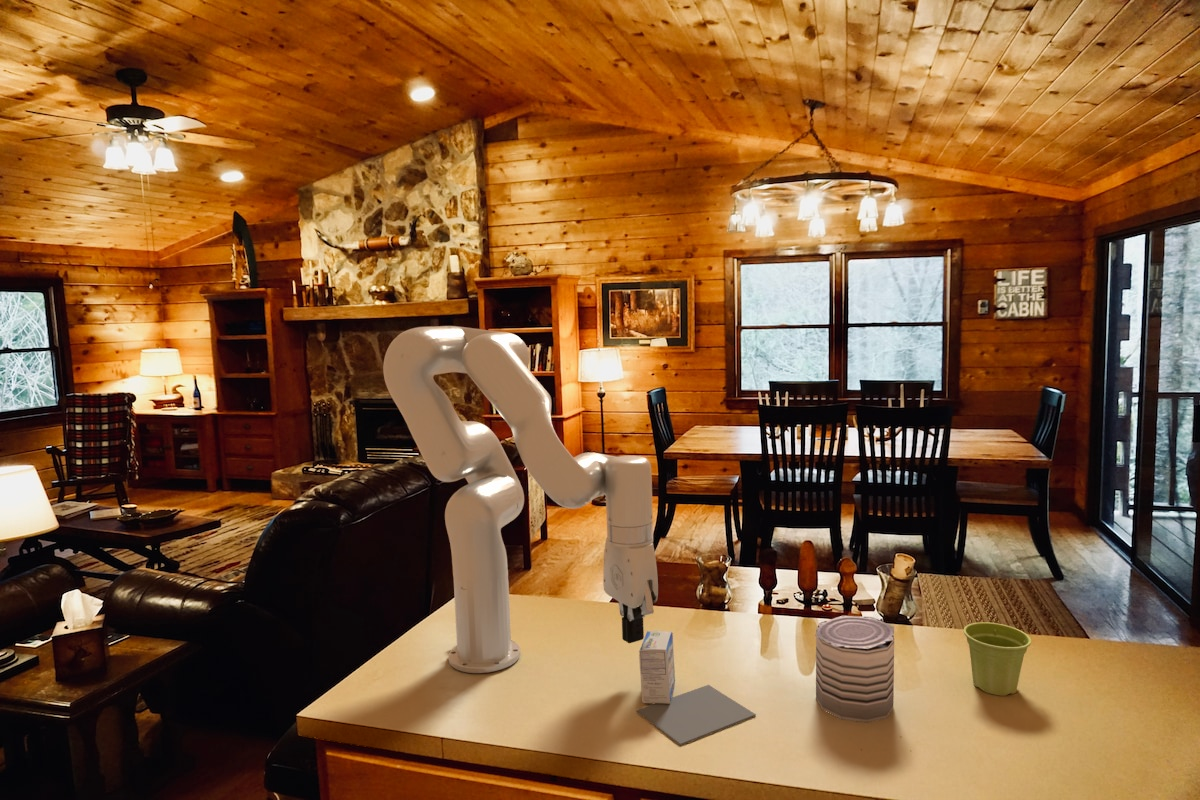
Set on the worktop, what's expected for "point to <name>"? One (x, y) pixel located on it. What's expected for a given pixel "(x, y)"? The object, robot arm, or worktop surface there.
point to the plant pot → (996, 656)
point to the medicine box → (657, 667)
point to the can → (855, 668)
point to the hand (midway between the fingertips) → (633, 639)
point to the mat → (695, 714)
